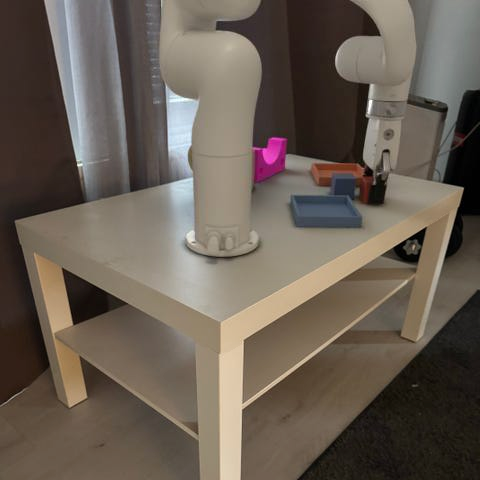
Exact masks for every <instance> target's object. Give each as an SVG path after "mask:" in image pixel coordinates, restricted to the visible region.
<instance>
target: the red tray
mask: <svg viewBox="0 0 480 480" xmlns="http://www.w3.org/2000/svg"><path fill="white" fill-rule="evenodd" d="M363 170H364V168H363V167H362V166H361V165H360V164H359V163H345V162H344V163H343V162H342V163H340V162H339V163H338V162H337V163H336V162H334V163H333V162H311V165H310V172H311V174H312V176H313V179H314V180H315V182H316V184H317V186H321V187H323V186H324V187H327V186H328V187H329V186H330V187H331V180H332V173H352V174H353V175H354V176H355V178H356V179H357V180H356V186H355V187H360V184H361V178H362V177H363V175H366V174H363Z"/></svg>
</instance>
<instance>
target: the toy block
mask: <svg viewBox="0 0 480 480" xmlns="http://www.w3.org/2000/svg"><path fill="white" fill-rule="evenodd" d="M287 141H288V139H287V138H283V137H271V138H268V143H267V147H264V148H261V147H255V146H252V149H254V151H255V168H254V183H259V182H261V181H263V180H265V179H267V178H269V177H272V176H273V175H275V174H277V173H279V172H281V171H283V170H285V169H286V160H287V159H286V157H287V145H288V144H287V143H288V142H287Z"/></svg>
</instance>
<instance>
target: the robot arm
mask: <svg viewBox="0 0 480 480" xmlns="http://www.w3.org/2000/svg"><path fill="white" fill-rule="evenodd" d="M261 1H262V0H161V12H160V13H161V16H160V30H159V43H158V44H159V46H158V60H159V61H158V63H159V70H160V75H161V78H162V80H163V82H164V84H165V85H166V87H167V88H168V90H170V91H171V92H172V93H173V94H175V95H176V96H178V97H181V98H184V99H187V100H188V99H189V100H193V101H198V103H197V108H196V111H195V114H194V117H193V121H192V125H191V126H192V127H191V136H190V137H191V138H190V139H191V141H190V144H191V145H192V164H193V171H192V189H193V190H192V192H193V193H192V194H193V218H194V220H193V221H194V228H193V229H191V230H189V232H187V233H186V236H185V244H186V246H187V247H188V248H189V250H191V251H192V252H195V253H197V254H200V255H204V256H209V257H218V258H221V257H222V258H227V257H228V258H229V257H236V256H242V255H246V254H248V253H250V252H252V251H254V250H255V249H256V248H257V247H258V246H259V244H260V243H259V242H260V237H259V234H258V233H257V232H256V231H254V230H253V229H252V228H251V217H252V216H251V214H252V213H251V212H252V190H251V184H252V147H253V146H254V145H253V143H254V142H253V140H254V124H255V114H256V108H257V102H258V98H259V94H260V93H259V92H260V88H261V83H262V76H263V75H262V74H263V71H262V70H263V68H262V60H261V57H260V54H259V52H258V50H257V47H256V46H255V45H254V44H253V42H252V41H250V39H248V38H247V37H245V36H244V35H242V34H239V33H237V32H234V31H228V30H216V29H217V22H234V21H235V22H236V21H242V20H245V19H248V18H250V17H252V16H253V15H254V14H255V13H256V12H257V10H258V9H259V7H260V4H261ZM350 1H351V2H352V3H354V4H355V5H357V6H358V7H360V8H361V9H362V10H364V12H366V13H367V14H368V15H369V17H370V18H371V19H372V21H373V22H374V23H375V25H376V27H377V29H378V31H379V34H380V36H379V35H374V36H373V35H372V36H369V35H357V36H352V37H350V38H348V39H346V40H345V41H343V43H342V44H341V45H340V46H339V47H338V49H337V52H336V55H335V58H334V59H335V61H334V64H335V68H336V71H337V73H338V75H339V76H340V77H341V78H343V79H344V80H345V81H348V82H352V83H359V84H366V85H367V84H369V89H368V97H367V103H366V111H365V117H366V118H368V123H367V128H366V133H365V139H364V145H363V153H362V159H363V162H364V167H363V174H366V175H363V177H373V184H371V185H370V191H369V197H368V202H369V203H368V204H375V205H376V204H377V205H379V204H380V205H381V204H384V203H385V199H384V196H385V197H386V194H385V191H386V192H387V188H386V185H387V186H388V180H389V176H390V174H391V172H394V171H395V170H396V169H397V164H398V157H399V150H400V142H401V133H402V132H401V131H402V120H404V119H405V115H406V110H407V104H408V98H409V92H410V87H411V81H412V77H413V71H414V67H415V63H416V58H417V57H416V56H417V50H418V49H417V48H418V46H417V41H416V29H415V17H414V13H413V10H412V7H411V5H410V2H409V0H349V2H350ZM379 167H380V168H379ZM383 202H384V203H383Z"/></svg>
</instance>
